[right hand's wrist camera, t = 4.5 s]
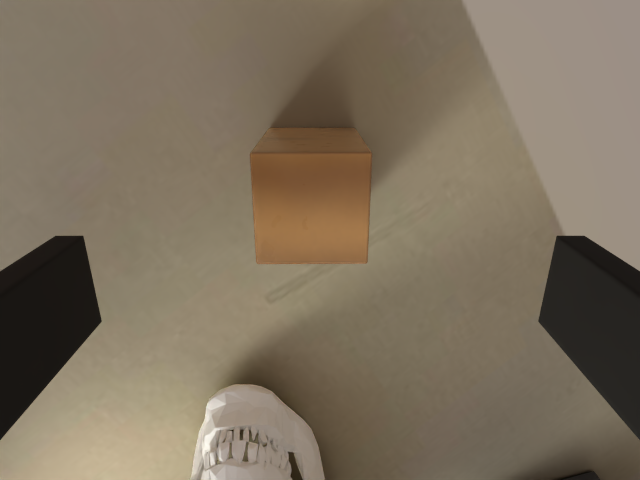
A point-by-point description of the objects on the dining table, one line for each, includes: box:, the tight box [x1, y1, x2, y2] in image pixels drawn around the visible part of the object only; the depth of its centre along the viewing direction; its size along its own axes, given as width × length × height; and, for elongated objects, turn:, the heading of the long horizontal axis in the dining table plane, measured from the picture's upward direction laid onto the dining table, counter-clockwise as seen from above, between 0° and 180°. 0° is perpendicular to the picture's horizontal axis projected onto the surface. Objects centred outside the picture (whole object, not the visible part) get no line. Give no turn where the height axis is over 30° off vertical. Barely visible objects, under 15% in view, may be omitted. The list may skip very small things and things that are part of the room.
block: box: [250, 128, 372, 264], centre depth 22 cm, size 5×5×8 cm
